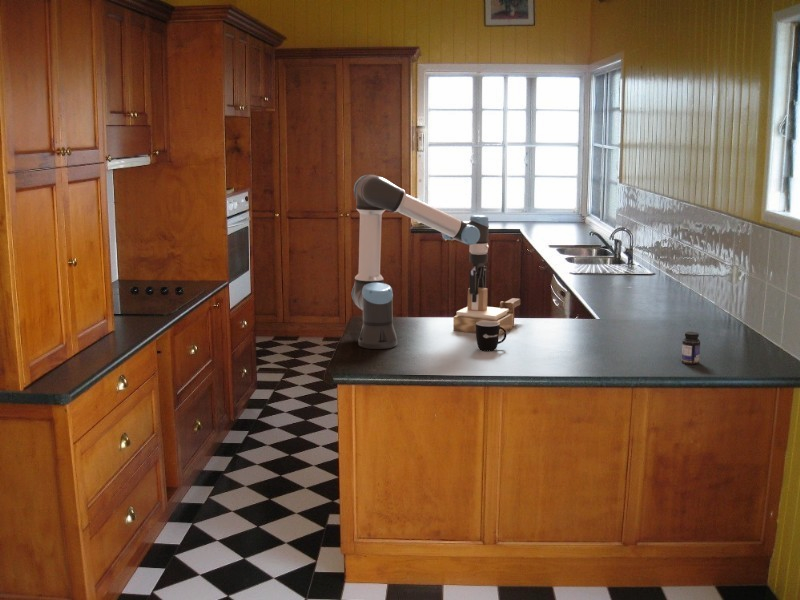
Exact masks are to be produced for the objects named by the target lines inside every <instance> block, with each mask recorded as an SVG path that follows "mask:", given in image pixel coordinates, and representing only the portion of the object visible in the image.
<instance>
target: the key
mask: <svg viewBox="0 0 800 600" xmlns="http://www.w3.org/2000/svg"><path fill="white" fill-rule="evenodd" d="M513 302H514V303H515V304H514V309H515V308H517V307H518V306H520V305H521V298H516V297H515V298H514V297H512V298H510V299H508V300H506V301H504V304H503V308H505V309H509V310H511V303H513Z"/></svg>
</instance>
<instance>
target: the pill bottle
mask: <svg viewBox="0 0 800 600" xmlns="http://www.w3.org/2000/svg"><path fill="white" fill-rule="evenodd" d="M699 336H700V333H699V332H697V331H692V330H691V331H690V330H689V331H685V332H684V337H685V338H683V339H682V341H681V342H682V345H681V362H682V364H684V365H685V364H686V365H698V364H699V363H700V355H701V354H700V353H701V351H700V350H701V340H700V339H699Z"/></svg>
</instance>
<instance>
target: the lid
mask: <svg viewBox="0 0 800 600" xmlns="http://www.w3.org/2000/svg"><path fill="white" fill-rule="evenodd" d="M488 291H489V288H488V287H486V288H479V287H478V294H479V298H478V310H471V308H472V294H470V287H469V288H468V287H467V306H466V307H463V308H461V309H459V310H457V311H456V315H458V316H460V317H469V318H478V319H486V320H495V321H496V320H498V319H500V318H502V317H503V316H505V315H507V312H509V310H510V309H508V308H504V307H503V308H500V307H494V306H488Z"/></svg>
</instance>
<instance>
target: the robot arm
mask: <svg viewBox="0 0 800 600" xmlns="http://www.w3.org/2000/svg"><path fill="white" fill-rule="evenodd" d="M353 186H354V187H353V194H354V197H355V199H356V202H355V203H356V204H355V210H357V212H358V213H359V235H358V236H359V239H358V240H359V241H358V242H359V243H358V273H357V274H356V276H354V285H353V287H352V289H351V298H352V301H353V303H354V305H355V306H356V307H357V308H358V309H360V310H361V311H362V327H361V331H360V332H359V337H358V346H359V347H361V348H364V349H368V350H369V349H371V350H386V349H391V348H394V347H396V346H398V338H397V333H396V331H395V328H394V323H393V321H394V320H393V319H394V317H393V315H394V314H393V313H394V310H393V309H394V307H393V304H394V303H393V302H394V300H393V298H394V294H393V288H392V287H391V285H389V284H387V283H384V277H383V276H382V274H381V257H382V256H381V253H382V252H381V249H382V248H381V247H382V220H383V218H382V215H383V213H384V212H385V211H388V212H391V213H393V214H394V213H399V214H401V215H403V216H406V217H408V218H410V219H412V220H414V221H416V222H419V223H420V224H422V225H425V226H427V227H428V228H431V229H433V230H436V231H437V232H440V233H441V236H442V237H441V238H442V239H443V240H445V241H446V240H448V241H451V240H452V241H453V240H455V241H457V242H460V243H463V244H464V245H467V246H469V251H468V252H469V256H468V257H469V259H468V262H469V263H470V264H472V267H471V269H469V288H470V294H472V308H471V310H478V298H479V294H478V287H479V288H487V269H488V266H486V265H485V264H487V263H488V261H489V259H488V258H489V256H488V255H489V254H488V252H489V251H488V250H489V248H490V246H489V228H490V226H489V225H490V224H489V223H490V222H489V217H488V216H487V215H483V214H475V215H471V216H470V217H469V220H461V219H459V218H457V217H455V216H453V215H451V214H449V213H446V212H444V211H442V210H441V209H439V208H436V207H435V206H432V205H430V204H428V203H426V202H424V201H423V200H419V199H418V198H415V197H414V196H413V195H412V196H411V195H409V194H407V193H406V191H405V189H403V188H401V187H399V186H397V185H396V184H394V183H393V182H391V181H390V180H388V179H387V178H384V177H382V176H378V175H377V174H365V175H363V176H360V177H359V178H358V179H357V180H356V182H355V183H354V185H353Z"/></svg>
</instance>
